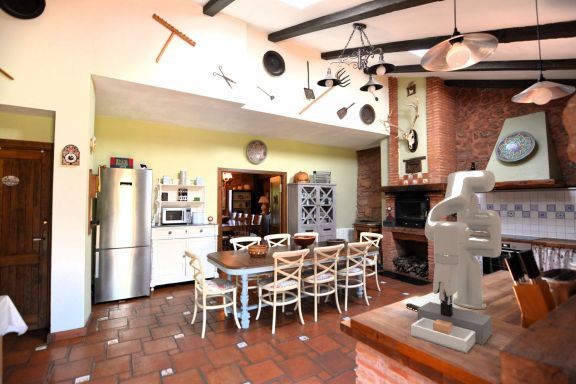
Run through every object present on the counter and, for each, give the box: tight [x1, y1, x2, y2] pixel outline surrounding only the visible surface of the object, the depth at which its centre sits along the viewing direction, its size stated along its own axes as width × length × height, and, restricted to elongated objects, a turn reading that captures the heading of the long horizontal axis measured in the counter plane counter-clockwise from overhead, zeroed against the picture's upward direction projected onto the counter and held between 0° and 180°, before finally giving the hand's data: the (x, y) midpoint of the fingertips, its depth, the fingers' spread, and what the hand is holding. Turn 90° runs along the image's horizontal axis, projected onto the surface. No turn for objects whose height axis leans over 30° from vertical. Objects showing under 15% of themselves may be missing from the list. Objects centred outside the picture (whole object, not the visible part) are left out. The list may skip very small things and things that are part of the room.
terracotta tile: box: [433, 319, 452, 335], centre depth 94 cm, size 4×4×2 cm
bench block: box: [417, 301, 493, 346], centre depth 103 cm, size 12×20×6 cm, turn 45°
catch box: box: [410, 318, 477, 354], centre depth 95 cm, size 10×16×4 cm, turn 45°
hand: (446, 315), depth 98 cm, fingers closed
